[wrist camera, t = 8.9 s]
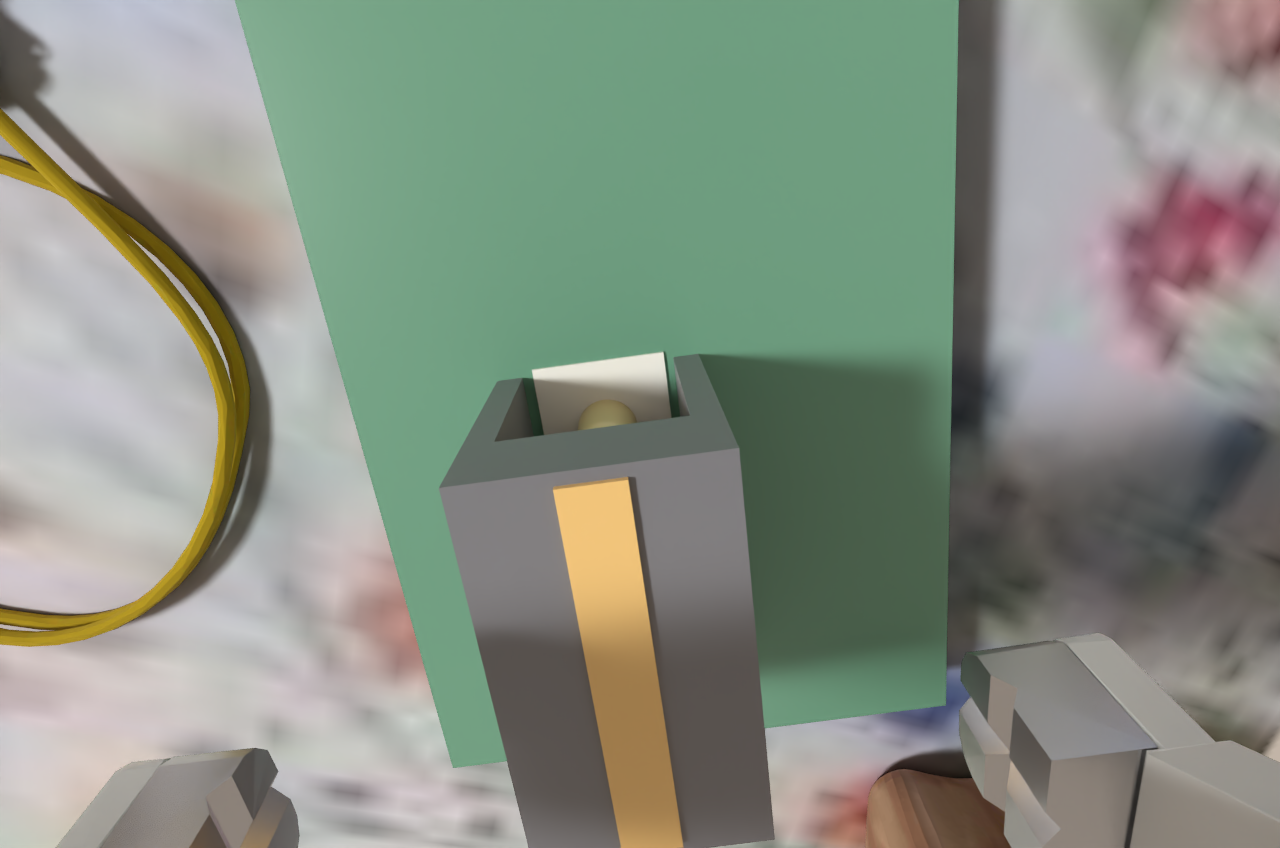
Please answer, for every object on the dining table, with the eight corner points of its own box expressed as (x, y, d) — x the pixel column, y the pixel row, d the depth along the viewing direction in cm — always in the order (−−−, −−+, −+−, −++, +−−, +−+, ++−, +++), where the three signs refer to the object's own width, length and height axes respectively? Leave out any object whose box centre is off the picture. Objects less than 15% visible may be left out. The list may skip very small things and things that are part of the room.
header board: (267, -15, 13) (99, -100, 9) (923, -110, 13) (1072, -243, 9) (465, 722, 19) (421, 883, 15) (921, 664, 19) (1009, 810, 14)
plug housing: (497, 381, 14) (436, 491, 9) (698, 353, 14) (740, 450, 9) (557, 669, 17) (533, 875, 12) (729, 647, 17) (776, 844, 12)
